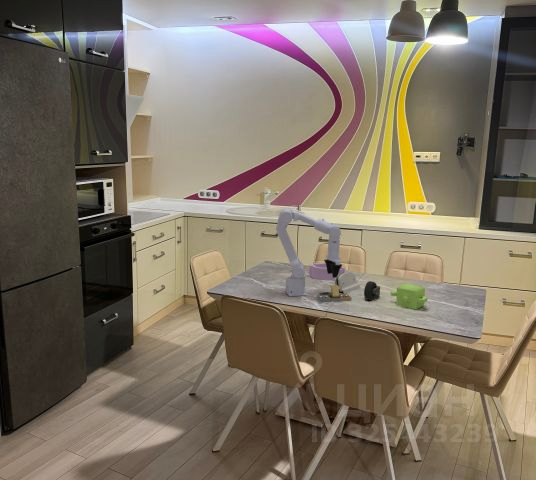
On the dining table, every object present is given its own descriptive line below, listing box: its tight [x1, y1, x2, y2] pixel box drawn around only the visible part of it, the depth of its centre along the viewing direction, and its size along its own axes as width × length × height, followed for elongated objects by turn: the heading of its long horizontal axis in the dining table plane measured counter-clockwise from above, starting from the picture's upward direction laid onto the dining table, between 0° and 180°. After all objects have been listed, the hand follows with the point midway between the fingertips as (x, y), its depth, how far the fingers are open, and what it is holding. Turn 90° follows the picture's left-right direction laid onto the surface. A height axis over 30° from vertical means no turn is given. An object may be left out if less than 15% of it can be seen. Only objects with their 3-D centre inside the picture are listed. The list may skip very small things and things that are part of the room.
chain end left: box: [316, 294, 342, 303], centre depth 244 cm, size 10×6×2 cm, turn 104°
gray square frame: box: [318, 291, 331, 295], centre depth 251 cm, size 5×5×1 cm
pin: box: [329, 284, 340, 298], centre depth 245 cm, size 4×4×7 cm
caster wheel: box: [363, 280, 381, 301], centre depth 249 cm, size 6×10×15 cm
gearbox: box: [390, 283, 428, 310], centre depth 238 cm, size 18×10×10 cm, turn 48°
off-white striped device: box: [333, 271, 361, 294], centre depth 263 cm, size 17×5×10 cm, turn 139°
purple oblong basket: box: [308, 262, 346, 282], centre depth 285 cm, size 20×12×7 cm, turn 60°
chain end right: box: [328, 293, 352, 302], centre depth 246 cm, size 10×6×2 cm, turn 104°
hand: (332, 275), depth 251 cm, fingers open, 7 cm apart
